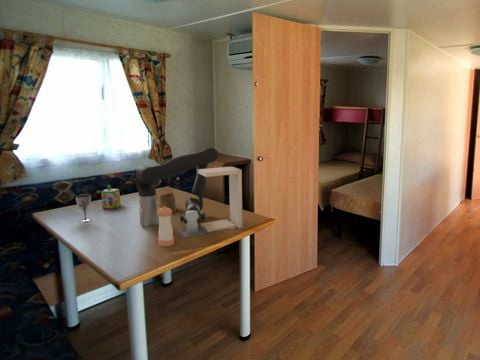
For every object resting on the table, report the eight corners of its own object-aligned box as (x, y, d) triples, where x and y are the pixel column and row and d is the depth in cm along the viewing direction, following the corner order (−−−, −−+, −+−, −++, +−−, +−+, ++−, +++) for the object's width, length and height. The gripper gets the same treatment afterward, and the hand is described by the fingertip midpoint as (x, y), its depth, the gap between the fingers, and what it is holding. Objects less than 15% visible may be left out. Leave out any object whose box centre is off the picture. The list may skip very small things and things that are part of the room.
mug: (146, 211, 226) (145, 192, 224) (171, 206, 237) (170, 188, 235) (155, 215, 218) (154, 196, 215) (180, 209, 229) (179, 191, 227)
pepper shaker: (155, 246, 168) (152, 207, 164) (166, 241, 174) (164, 203, 170) (166, 249, 164) (164, 209, 160) (177, 244, 170) (175, 205, 166)
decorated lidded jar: (115, 208, 233) (113, 186, 230) (102, 208, 233) (100, 186, 230) (121, 205, 242) (119, 183, 239) (108, 204, 242) (106, 183, 239)
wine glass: (87, 217, 214) (84, 193, 211) (96, 219, 210) (93, 195, 207) (75, 221, 207) (72, 196, 204) (84, 223, 203) (81, 198, 200)
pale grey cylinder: (188, 235, 179) (187, 214, 177) (185, 231, 185) (184, 211, 183) (200, 233, 182) (199, 212, 180) (196, 229, 187) (195, 209, 185)
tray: (184, 239, 176) (184, 236, 175) (178, 232, 186) (178, 229, 186) (207, 235, 181) (207, 232, 180) (200, 228, 191) (199, 226, 191)
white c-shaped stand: (207, 233, 184) (205, 173, 177) (199, 227, 194) (197, 169, 188) (242, 227, 192) (241, 169, 186) (233, 221, 203) (232, 166, 196)
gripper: (179, 206, 195) (177, 215, 178) (206, 205, 196) (206, 214, 180) (180, 219, 196) (178, 229, 180) (206, 218, 197) (206, 228, 181)
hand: (192, 221), depth 180 cm, fingers closed on pale grey cylinder, 6 cm apart
